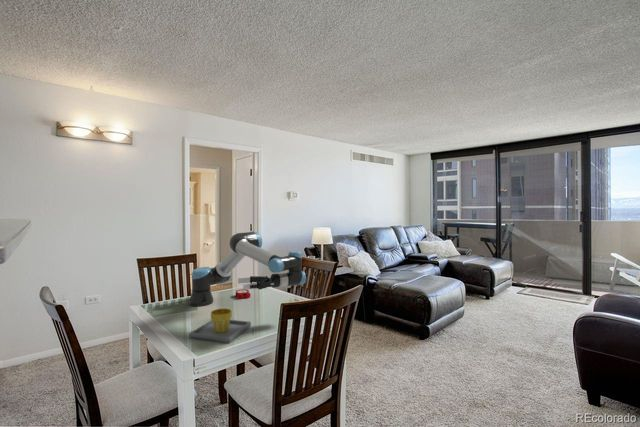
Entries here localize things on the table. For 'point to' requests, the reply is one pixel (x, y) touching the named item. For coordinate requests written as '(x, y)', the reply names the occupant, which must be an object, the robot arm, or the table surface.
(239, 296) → the alarm clock
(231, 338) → the tray
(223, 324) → the plant pot
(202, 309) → the table surface
